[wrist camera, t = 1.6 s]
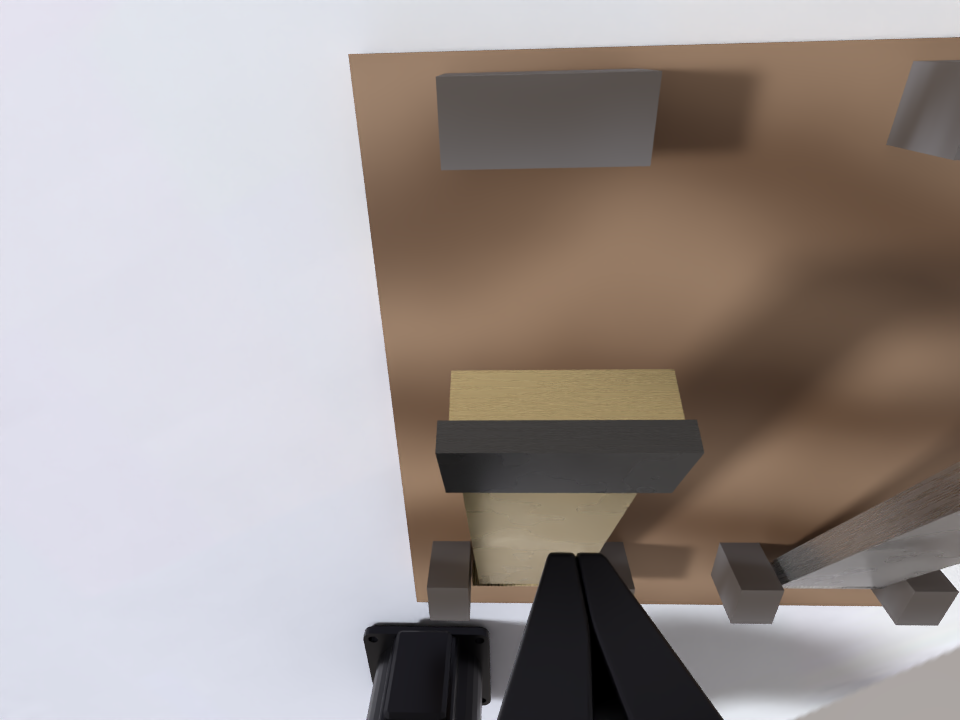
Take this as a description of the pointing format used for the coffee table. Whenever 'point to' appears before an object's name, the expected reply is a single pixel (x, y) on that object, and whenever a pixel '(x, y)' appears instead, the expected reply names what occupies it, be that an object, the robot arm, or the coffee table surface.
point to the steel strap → (883, 541)
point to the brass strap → (557, 459)
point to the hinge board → (681, 284)
